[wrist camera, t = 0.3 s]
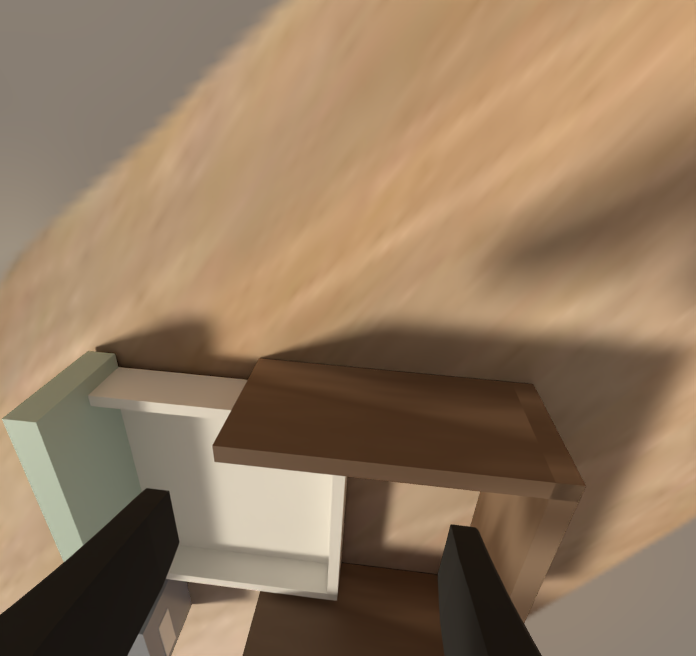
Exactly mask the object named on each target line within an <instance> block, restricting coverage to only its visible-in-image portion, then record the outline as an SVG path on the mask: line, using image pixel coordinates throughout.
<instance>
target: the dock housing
mask: <svg viewBox="0 0 696 656" xmlns="http://www.w3.org/2000/svg"><path fill="white" fill-rule="evenodd" d="M212 448H213V455H214V462H220V463H229V464H238V465H247V466H256V467H265V468H274V469H283V470H292V471H301V472H310V473H319V474H328V475H337V476H346V477H355V478H364V479H373V480H382V481H391V482H400V483H409V484H418V485H427V486H436V487H445V488H454V489H463V490H472V491H480V495H479V498H478V502H477V505H476V509H475V512H474V516H473V519H472V523H471V526H470V527H476V528H477V529H478V531H479V532H480V535H481V537H482V539H483V542H484V544H485V546H486V548H487V551H488V553H489V555H490V557H491V560H492V562H493V564H494V566H495V568H496V570H497V572H498V574H499V576H500V578H501V580H502V582H503V584H504V586H505V589H506V591H507V592H508V594H509V596H510V598H511V600H512V602H513V604H514V606H515V608H516V610H517V612H518V614H519V615H520V617H521V619H522V621H523V623H524V622H525V620H526V618H527V616H528V614H529V611H530V609H531V607H532V605H533V602H534V600H535V598H536V596H537V594H538V591H539V589H540V587H541V585H542V583H543V580H544V578H545V576H546V574H547V571H548V569H549V567H550V565H551V563H552V560H553V558H554V556H555V554H556V552H557V549H558V547H559V545H560V543H561V540H562V538H563V536H564V534H565V532H566V529H567V527H568V525H569V523H570V520H571V518H572V516H573V514H574V512H575V509H576V507H577V505H578V503H579V501H580V498H581V496H582V494H583V492H584V489H585V487H586V485H585V483H584V481H583V479H582V478H581V476H580V474H579V472H578V470H577V468H576V466H575V464H574V462H573V460H572V458H571V456H570V454H569V452H568V450H567V449H566V447H565V445H564V443H563V441H562V439H561V437H560V435H559V433H558V431H557V429H556V427H555V425H554V423H553V421H552V420H551V418H550V416H549V414H548V412H547V410H546V408H545V406H544V404H543V402H542V400H541V398H540V396H539V394H538V392H537V391H536V389H535V387H534V385H533V384H525V383H514V382H504V381H493V380H483V379H472V378H462V377H451V376H441V375H430V374H420V373H409V372H398V371H388V370H377V369H367V368H356V367H346V366H335V365H325V364H314V363H304V362H293V361H283V360H272V359H261V358H259V360H258V362H257V363H256V365H255V367H254V369H253V371H252V373H251V375H250V376H249V378H248V380H247V382H246V384H245V386H244V388H243V389H242V391H241V393H240V395H239V397H238V399H237V401H236V402H235V404H234V406H233V408H232V410H231V412H230V414H229V415H228V417H227V419H226V421H225V423H224V425H223V427H222V428H221V430H220V432H219V434H218V436H217V438H216V440H215V441H214V443H213V445H212ZM243 656H445V655H444V648H443V641H442V634H441V626H440V614H439V594H438V575H435V574H427V573H419V572H411V571H403V570H395V569H387V568H379V567H371V566H362V565H354V564H346V563H341V569H340V578H339V587H338V596H337V601H334V600H326V599H319V598H311V597H303V596H295V595H288V594H280V593H272V592H264V591H260V594H259V598H258V602H257V605H256V609H255V613H254V616H253V620H252V623H251V627H250V631H249V634H248V638H247V642H246V645H245V649H244V653H243Z"/></svg>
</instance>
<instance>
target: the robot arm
mask: <svg viewBox="0 0 696 656" xmlns="http://www.w3.org/2000/svg"><path fill="white" fill-rule="evenodd" d="M179 543H180V542H179V537H178V532H177V527H176V522H175V517H174V512H173V507H172V502H171V497H170V492H169V491H167V490H159V489H150V488H146V489H145V490H143V491H142V492H141V493H140V494H139V495H138V496H137V497H136V498H134V499H133V500H132V501H131V502H130V503H129V504H128V505H127V506H126V507H125V508H124V509H123V510H121V511H120V512H119V513H118V514H117V515H116V516H115V517H114V518H113V519H112V520H111V521H110V522H108V523H107V524H106V525H105V526H104V527H103V528H102V529H101V530H100V531H99V532H97V533H96V534H95V535H94V536H93V537H92V538H91V539H90V540H89V541H87V542H86V543H85V544H84V545H83V546H82V547H81V548H80V549H78V550H77V551H76V552H75V553H74V554H73V555H72V556H70V557H69V558H68V559H67V560H66V561H65V562H64V563H63V564H61V565H60V566H59V567H58V568H57V569H56V570H54V571H53V572H52V573H51V574H50V575H48V576H47V577H46V578H45V579H44V580H42V581H41V582H40V583H39V584H37V585H36V586H35V587H34V588H33V589H31V590H30V591H29V592H28V593H27V594H25V595H24V596H23V597H22V598H21V599H19V600H18V601H17V602H16V603H14V604H13V605H12V606H11V607H9V608H8V609H7V610H6V611H4V612H3V613H2V614H0V656H128V654H129V652H130V650H131V648H132V646H133V644H134V642H135V640H136V638H137V636H138V634H139V632H140V630H141V628H142V626H143V624H144V622H145V620H146V618H147V617H148V615H149V613H150V611H151V609H152V607H153V605H154V603H155V601H156V599H157V597H158V595H159V593H160V591H161V589H162V587H163V584H164V582H165V579H166V577H167V574H168V572H169V569H170V567H171V564H172V562H173V559H174V556H175V553H176V551H177V548H178V545H179ZM438 594H439V614H440V626H441V634H442V641H443V648H444V655H445V656H542V655H541V654H540V652H539V650H538V648H537V646H536V645H535V643H534V641H533V639H532V638H531V636H530V634H529V632H528V630H527V628H526V627H525V625H524V623H523V621H522V619H521V617H520V615H519V614H518V612H517V610H516V608H515V606H514V604H513V602H512V600H511V598H510V596H509V594H508V592H507V591H506V589H505V586H504V584H503V582H502V580H501V578H500V576H499V574H498V572H497V570H496V568H495V566H494V564H493V562H492V560H491V557H490V555H489V553H488V551H487V548H486V546H485V544H484V542H483V539H482V537H481V535H480V532H479V531H478V529H477V528H476V527H468V526H459V525H450V529H449V533H448V537H447V541H446V545H445V549H444V552H443V556H442V560H441V564H440V568H439V572H438Z"/></svg>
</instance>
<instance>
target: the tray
mask: <svg viewBox="0 0 696 656" xmlns="http://www.w3.org/2000/svg"><path fill="white" fill-rule="evenodd" d="M246 382H247V380H245V379H235V378H225V377H215V376H204V375H194V374H184V373H174V372H164V371H153V370H143V369H133V368H123V367H118V364H117V360H116V356H115V354H114V353H104V352H93V351H87V352H86V353H85V354H84V355H82V356H81V357H80V358H79V359H77V360H76V361H75V362H73V363H72V364H71V365H70V366H68V367H67V368H66V369H65V370H63V371H62V372H61V373H59V374H58V375H57V376H56V377H54V378H53V379H52V380H51V381H49V382H48V383H47V384H46V385H44V386H43V387H42V388H40V389H39V390H38V391H37V392H35V393H34V394H33V395H32V396H30V397H29V398H28V399H26V400H25V401H24V402H23V403H21V404H20V405H19V406H18V407H16V408H15V409H14V410H12V411H11V412H10V413H9V414H7V415H6V416H5V417H4V418H2V420H3V423H4V425H5V427H6V430H7V432H8V434H9V437H10V439H11V441H12V444H13V446H14V448H15V450H16V453H17V455H18V457H19V460H20V462H21V464H22V467H23V469H24V471H25V474H26V476H27V478H28V481H29V483H30V485H31V487H32V490H33V492H34V494H35V497H36V499H37V501H38V504H39V506H40V508H41V511H42V513H43V515H44V517H45V520H46V522H47V524H48V527H49V529H50V531H51V534H52V536H53V538H54V541H55V543H56V545H57V547H58V550H59V552H60V554H61V557H62V559H63V561H64V562H65V561H66V560H67V559H68V558H69V557H70V556H72V555H73V554H74V553H75V552H76V551H77V550H78V549H80V548H81V547H82V546H83V545H84V544H85V543H86V542H87V541H89V540H90V539H91V538H92V537H93V536H94V535H95V534H96V533H97V532H99V531H100V530H101V529H102V528H103V527H104V526H105V525H106V524H107V523H108V522H110V521H111V520H112V519H113V518H114V517H115V516H116V515H117V514H118V513H119V512H120V511H121V510H123V509H124V508H125V507H126V506H127V505H128V504H129V503H130V502H131V501H132V500H133V499H134V498H136V497H137V496H138V495H139V494H140V493H141V492H142V491H143V490H145V489H146V488H150V489H159V490H167V491H169V492H170V497H171V502H172V507H173V512H174V517H175V522H176V527H177V532H178V537H179V542H180V543H179V545H178V548H177V551H176V553H175V556H174V559H173V562H172V564H171V567H170V569H169V572H168V574H167V577H166V579H171V580H179V581H187V582H194V583H202V584H210V585H218V586H225V587H233V588H241V589H249V590H257V591H264V592H272V593H280V594H288V595H295V596H303V597H311V598H319V599H326V600H334V601H337V596H338V587H339V578H340V569H341V559H342V545H343V531H344V517H345V502H346V488H347V477H346V476H337V475H328V474H319V473H310V472H301V471H292V470H283V469H274V468H265V467H256V466H247V465H238V464H229V463H220V462H214V455H213V448H212V445H213V443H214V441H215V440H216V438H217V436H218V434H219V432H220V430H221V428H222V427H223V425H224V423H225V421H226V419H227V417H228V415H229V414H230V412H231V410H232V408H233V406H234V404H235V402H236V401H237V399H238V397H239V395H240V393H241V391H242V389H243V388H244V386H245V384H246Z"/></svg>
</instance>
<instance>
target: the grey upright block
mask: <svg viewBox="0 0 696 656" xmlns="http://www.w3.org/2000/svg"><path fill="white" fill-rule="evenodd" d="M191 605H192V603H191V599H190V594H189V590H188V585H187V581H179V580H171V579H165V582H164V584H163V587H162V589H161V591H160V593H159V595H158V597H157V599H156V601H155V603H154V605H153V607H152V609H151V611H150V613H149V615H148V617H147V618H146V620H145V622H144V624H143V626H142V628H141V630H140V632H139V634H138V636H137V638H136V640H135V642H134V644H133V646H132V648H131V650H130V652H129V654H128V656H171V655H172V652H173V650H174V647H175V645H176V642H177V640H178V637H179V635H180V632H181V630H182V627H183V625H184V622H185V620H186V618H187V615H188V613H189V610H190V608H191Z"/></svg>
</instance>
